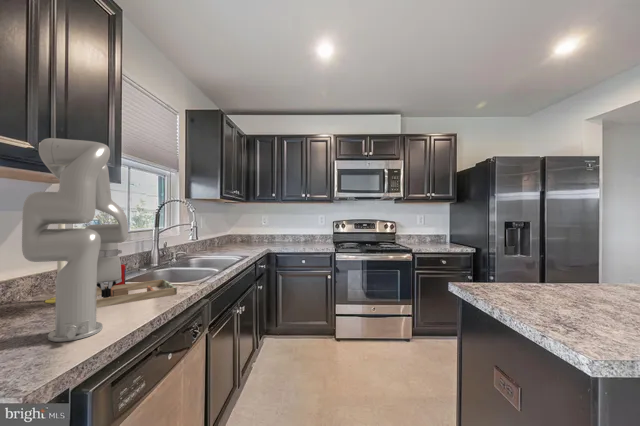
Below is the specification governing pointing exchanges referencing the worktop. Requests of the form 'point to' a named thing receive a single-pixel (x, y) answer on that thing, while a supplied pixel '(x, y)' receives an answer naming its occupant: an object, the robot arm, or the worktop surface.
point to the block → (120, 291)
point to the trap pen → (138, 296)
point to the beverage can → (122, 274)
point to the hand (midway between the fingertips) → (106, 298)
